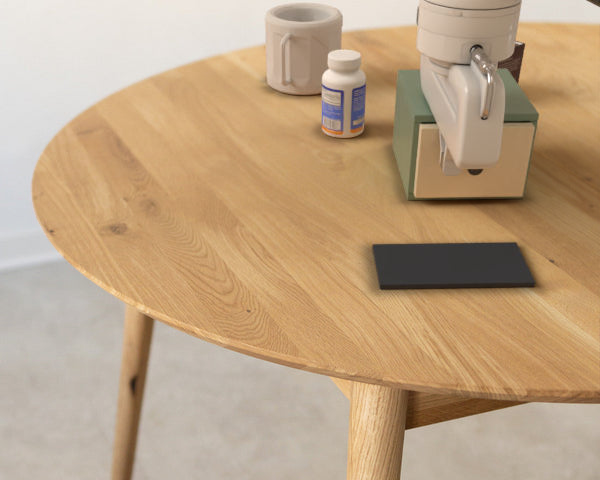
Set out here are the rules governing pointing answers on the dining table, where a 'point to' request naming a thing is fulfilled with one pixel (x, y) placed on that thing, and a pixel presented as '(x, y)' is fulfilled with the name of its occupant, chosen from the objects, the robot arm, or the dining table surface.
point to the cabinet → (416, 110)
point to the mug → (300, 45)
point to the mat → (451, 265)
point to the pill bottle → (343, 95)
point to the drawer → (474, 182)
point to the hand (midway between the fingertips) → (449, 170)
